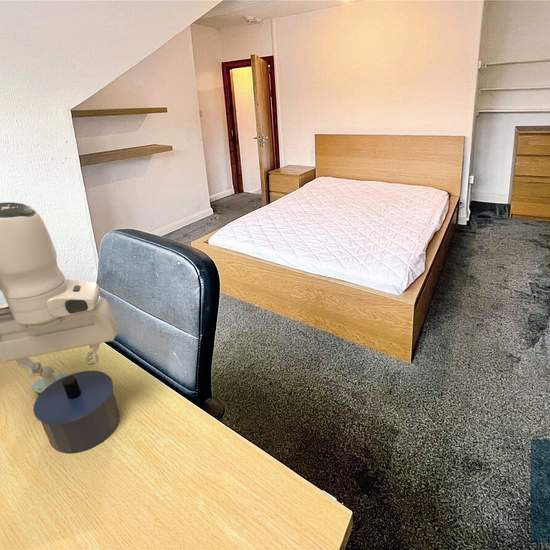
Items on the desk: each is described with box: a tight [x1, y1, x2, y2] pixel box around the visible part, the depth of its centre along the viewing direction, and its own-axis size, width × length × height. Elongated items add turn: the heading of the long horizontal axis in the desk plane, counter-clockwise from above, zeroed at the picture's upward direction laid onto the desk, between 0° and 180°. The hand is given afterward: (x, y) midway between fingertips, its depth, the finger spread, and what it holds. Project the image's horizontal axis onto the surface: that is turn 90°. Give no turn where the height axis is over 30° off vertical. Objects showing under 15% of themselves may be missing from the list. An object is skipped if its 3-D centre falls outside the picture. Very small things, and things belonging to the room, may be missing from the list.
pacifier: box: [30, 365, 69, 394], centre depth 89 cm, size 7×6×6 cm
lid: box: [32, 370, 114, 425], centre depth 75 cm, size 14×14×5 cm
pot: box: [40, 391, 121, 454], centre depth 77 cm, size 13×13×8 cm
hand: (66, 368), depth 73 cm, fingers open, 8 cm apart
